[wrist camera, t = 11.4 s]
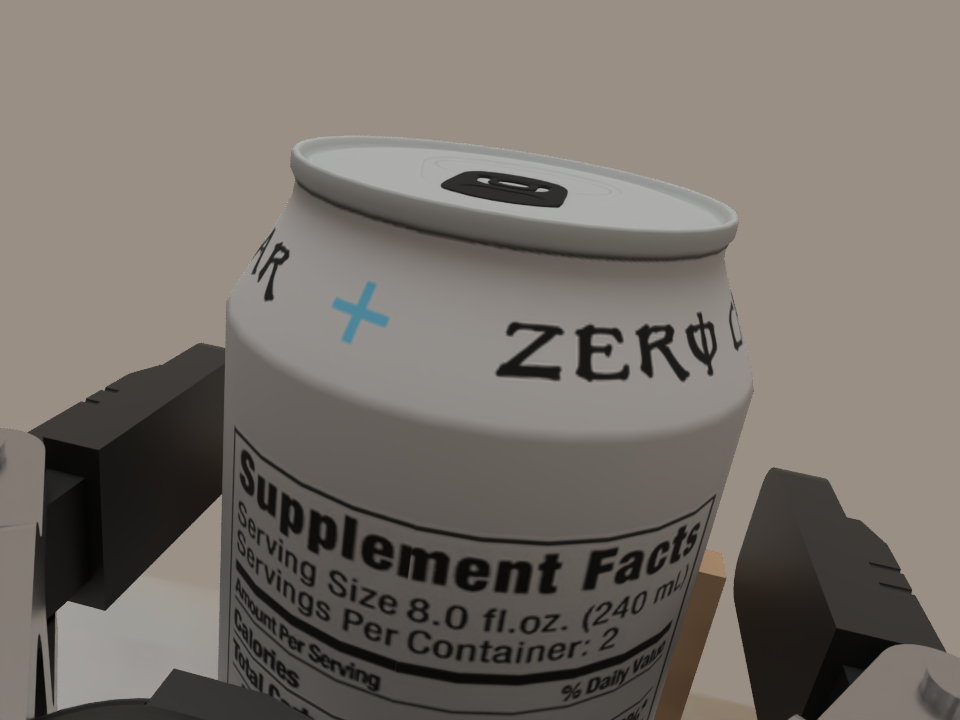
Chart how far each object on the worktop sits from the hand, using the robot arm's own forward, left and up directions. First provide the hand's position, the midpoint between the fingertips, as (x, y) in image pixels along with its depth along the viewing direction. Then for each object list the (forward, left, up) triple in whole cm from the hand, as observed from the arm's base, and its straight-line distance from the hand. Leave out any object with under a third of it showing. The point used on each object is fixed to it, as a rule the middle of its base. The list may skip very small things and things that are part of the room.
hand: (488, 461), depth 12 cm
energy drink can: (0, -2, -11) cm, 11 cm away
